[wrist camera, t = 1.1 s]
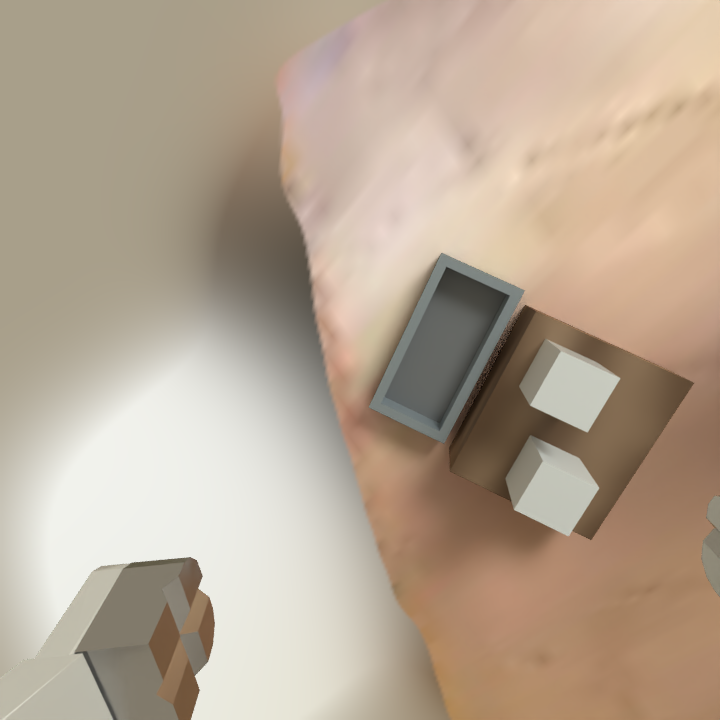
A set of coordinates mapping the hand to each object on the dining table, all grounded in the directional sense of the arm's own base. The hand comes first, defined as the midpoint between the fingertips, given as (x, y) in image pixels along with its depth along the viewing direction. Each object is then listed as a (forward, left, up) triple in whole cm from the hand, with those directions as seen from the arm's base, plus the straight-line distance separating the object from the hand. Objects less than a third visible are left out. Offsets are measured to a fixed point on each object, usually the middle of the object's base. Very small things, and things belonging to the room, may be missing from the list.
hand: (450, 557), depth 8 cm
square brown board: (-11, +3, -35) cm, 37 cm away
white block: (-9, 0, -30) cm, 31 cm away
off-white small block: (-11, +7, -30) cm, 33 cm away
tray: (-1, +2, -35) cm, 35 cm away
